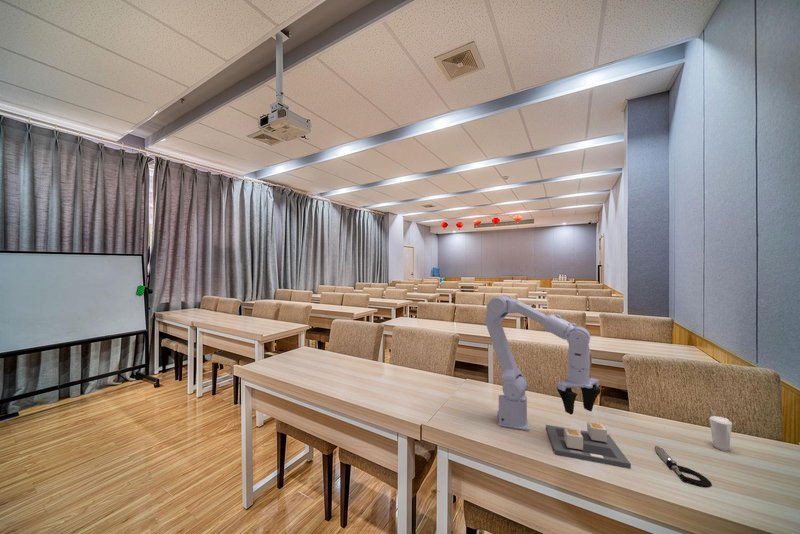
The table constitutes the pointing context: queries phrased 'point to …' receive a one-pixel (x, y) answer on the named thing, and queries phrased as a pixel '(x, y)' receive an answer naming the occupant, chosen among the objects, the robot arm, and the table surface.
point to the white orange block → (597, 431)
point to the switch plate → (588, 448)
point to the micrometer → (683, 470)
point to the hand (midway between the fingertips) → (578, 411)
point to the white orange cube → (573, 438)
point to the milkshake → (720, 432)
